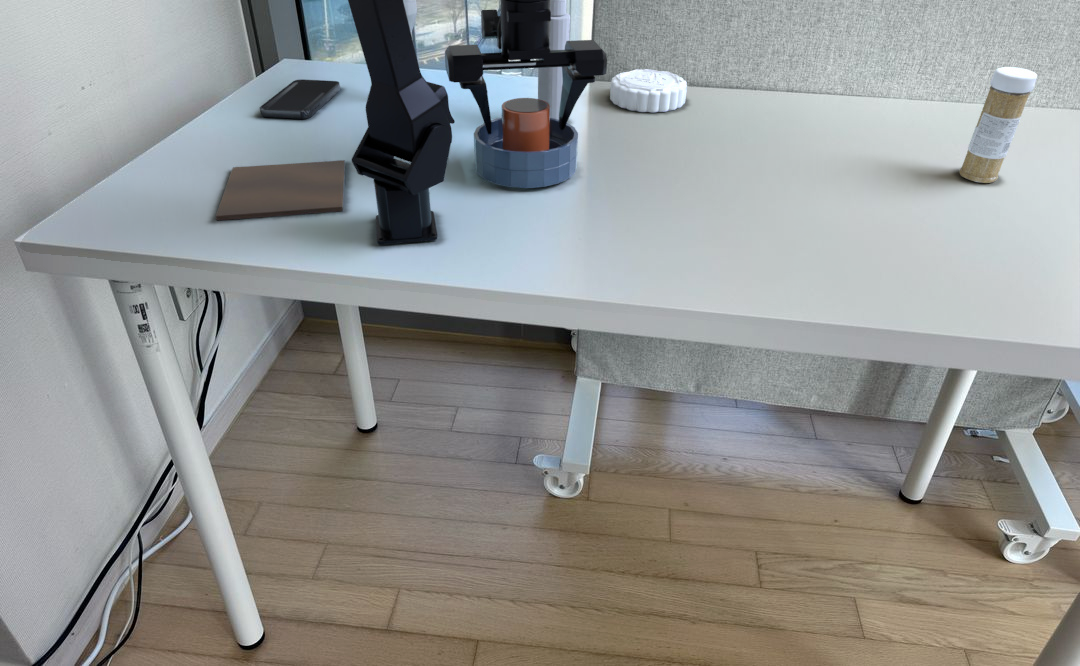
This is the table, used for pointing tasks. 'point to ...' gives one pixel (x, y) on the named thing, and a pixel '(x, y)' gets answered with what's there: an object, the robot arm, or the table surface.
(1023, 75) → the sprinkles bottle
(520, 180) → the bowl
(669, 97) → the mooncake
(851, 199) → the table surface
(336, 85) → the phone
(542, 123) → the cup
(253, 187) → the coaster board
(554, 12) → the bottle
